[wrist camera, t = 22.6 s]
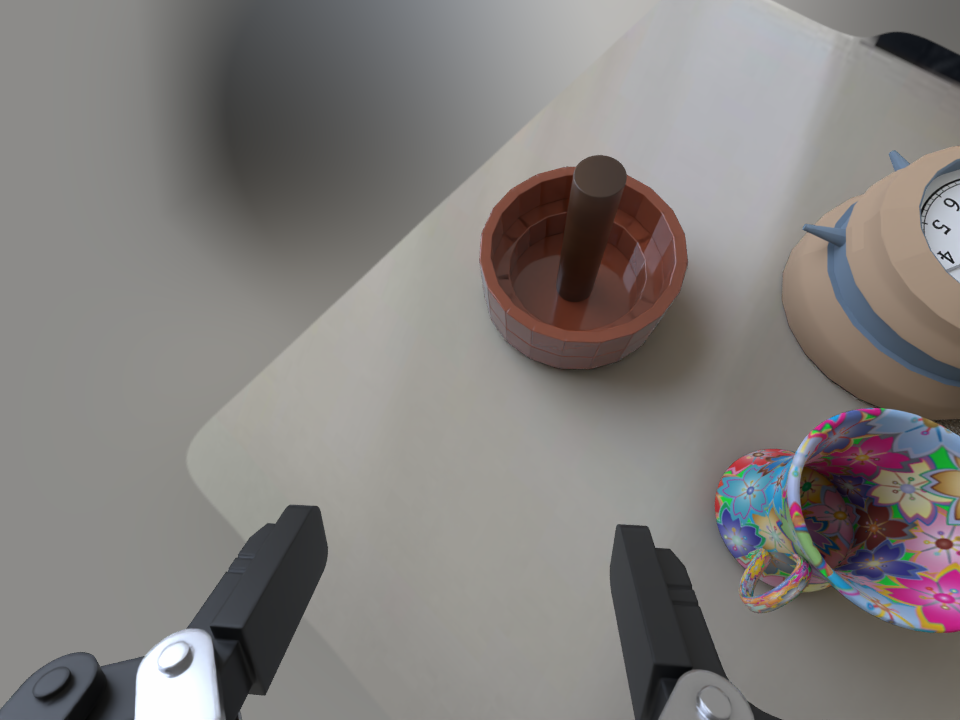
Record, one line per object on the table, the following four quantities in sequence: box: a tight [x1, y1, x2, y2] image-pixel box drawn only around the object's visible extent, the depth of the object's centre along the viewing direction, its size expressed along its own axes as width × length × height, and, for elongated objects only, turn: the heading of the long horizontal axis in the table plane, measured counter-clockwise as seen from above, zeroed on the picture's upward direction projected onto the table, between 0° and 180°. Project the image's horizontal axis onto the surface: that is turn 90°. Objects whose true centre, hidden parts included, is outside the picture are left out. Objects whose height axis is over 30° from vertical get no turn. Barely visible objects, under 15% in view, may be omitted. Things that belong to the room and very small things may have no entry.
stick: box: [556, 155, 627, 302], centre depth 30 cm, size 3×3×12 cm
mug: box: [715, 408, 960, 633], centre depth 25 cm, size 12×9×11 cm
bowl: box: [479, 167, 688, 369], centre depth 34 cm, size 14×14×6 cm
